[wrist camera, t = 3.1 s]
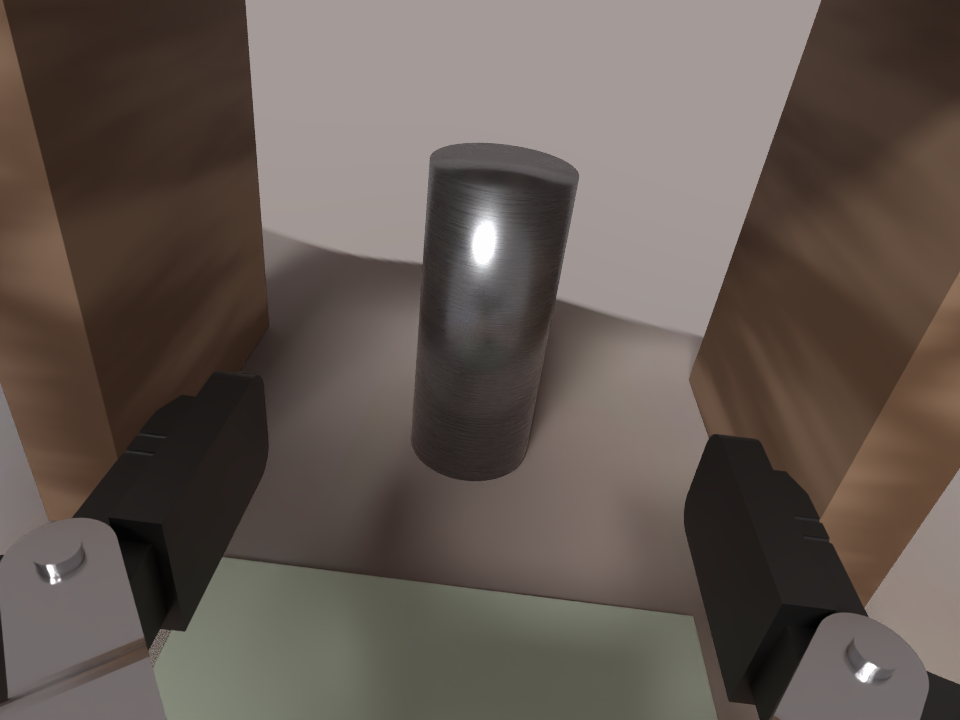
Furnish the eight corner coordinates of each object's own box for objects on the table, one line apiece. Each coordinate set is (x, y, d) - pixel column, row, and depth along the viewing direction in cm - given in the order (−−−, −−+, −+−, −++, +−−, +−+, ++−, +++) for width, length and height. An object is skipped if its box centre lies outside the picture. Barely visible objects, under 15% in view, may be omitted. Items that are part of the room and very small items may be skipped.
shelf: (30, 542, 22) (-352, -454, 10) (218, 308, 35) (153, -240, 23) (866, 647, 22) (1484, -202, 10) (740, 375, 36) (944, -133, 24)
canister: (402, 472, 27) (419, 179, 20) (419, 398, 31) (439, 136, 24) (526, 488, 27) (584, 200, 20) (527, 411, 31) (574, 153, 24)
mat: (73, 843, 15) (68, 833, 15) (211, 565, 22) (209, 555, 22) (756, 926, 16) (764, 918, 15) (689, 625, 22) (693, 615, 22)
